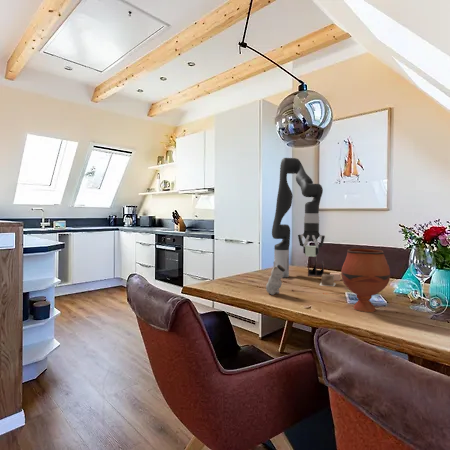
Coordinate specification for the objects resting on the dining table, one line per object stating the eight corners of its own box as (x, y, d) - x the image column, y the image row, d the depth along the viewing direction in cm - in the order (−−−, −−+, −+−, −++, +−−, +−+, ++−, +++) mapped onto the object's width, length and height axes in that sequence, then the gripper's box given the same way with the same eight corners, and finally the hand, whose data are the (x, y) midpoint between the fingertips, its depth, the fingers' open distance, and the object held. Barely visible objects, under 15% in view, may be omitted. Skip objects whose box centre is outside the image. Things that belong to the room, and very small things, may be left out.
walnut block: (321, 284, 182) (321, 275, 182) (322, 282, 187) (322, 273, 187) (333, 285, 180) (333, 276, 179) (333, 283, 185) (333, 274, 185)
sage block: (305, 256, 173) (305, 246, 173) (306, 254, 177) (307, 245, 177) (315, 256, 171) (315, 247, 171) (316, 255, 175) (316, 246, 175)
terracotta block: (331, 282, 194) (331, 274, 194) (329, 281, 199) (330, 272, 199) (340, 282, 194) (340, 274, 193) (338, 281, 199) (338, 272, 198)
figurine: (273, 297, 160) (273, 266, 159) (262, 292, 169) (262, 263, 168) (288, 295, 164) (288, 264, 163) (276, 291, 173) (276, 262, 172)
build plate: (301, 287, 180) (301, 285, 180) (305, 282, 195) (305, 280, 195) (340, 291, 173) (340, 288, 173) (341, 284, 187) (341, 282, 187)
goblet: (365, 318, 127) (366, 253, 126) (330, 305, 145) (331, 248, 144) (400, 312, 135) (401, 251, 134) (363, 301, 152) (364, 247, 152)
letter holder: (307, 276, 214) (308, 254, 213) (308, 271, 233) (308, 251, 232) (324, 277, 211) (324, 255, 211) (323, 272, 230) (323, 251, 230)
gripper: (296, 222, 173) (295, 254, 174) (325, 222, 167) (324, 256, 168) (299, 221, 180) (298, 252, 180) (326, 222, 174) (326, 254, 175)
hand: (311, 254), depth 174 cm, fingers closed on sage block, 5 cm apart
